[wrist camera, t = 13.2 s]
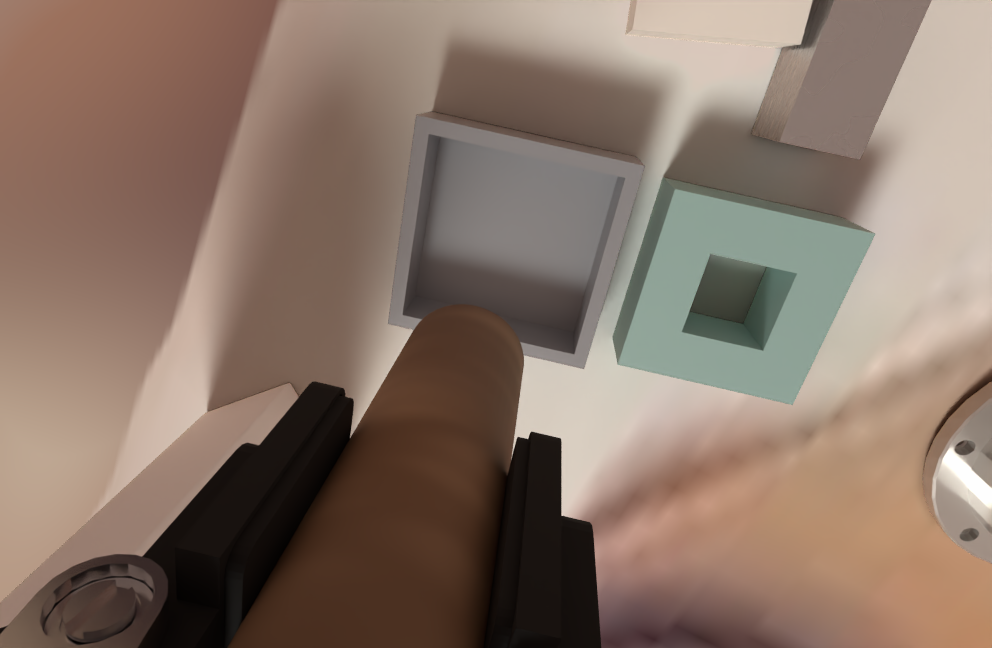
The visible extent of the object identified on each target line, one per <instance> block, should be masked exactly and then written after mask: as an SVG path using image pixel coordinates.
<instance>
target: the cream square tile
mask: <svg viewBox="0 0 992 648" xmlns="http://www.w3.org/2000/svg"><path fill="white" fill-rule="evenodd" d="M812 1H813V0H631V2H630V8H629V14H628V21H627V27H626V33H625V35H632V36H643V37H655V38H666V39H677V40H689V41H700V42H712V43H723V44H735V45H746V46H758V47H769V48H779V47H786V46H792V45H799V44H801V42H802V38H803V35H804V31H805V27H806V23H807V20H808V16H809V12H810V8H811V5H812Z"/></svg>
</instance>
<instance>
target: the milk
mask: <svg viewBox="0 0 992 648" xmlns="http://www.w3.org/2000/svg"><path fill="white" fill-rule="evenodd" d="M298 398H299V397H298V395H297V393H296V392H295V390H294V388H293V387H292V385H291V384H290V383H287V384H284V385H281V386H278V387H276V388H273V389H270V390H267V391H264V392H262V393H259V394H256V395H253V396H251V397H248V398H245V399H242V400H239V401H237V402H234V403H231V404H228V405H226V406H223V407H220V408H217V409H214V410H212V411H209V412H206V413H205V414H204V415H203V416H201V417H200V418H199V419H198V420H197V421H196V422H195V423H194V424H193V425H192V426H191V427H190V428H188V429H187V430H186V431H185V432H184V433H183V434H182V435H181V436H180V437H179V438H178V439H177V440H175V441H174V442H173V443H172V444H171V445H170V446H169V447H168V448H167V449H166V450H165V451H164V452H162V453H161V454H160V455H159V456H158V457H157V458H156V459H155V460H154V461H153V462H152V463H151V464H149V465H148V466H147V467H146V468H145V469H144V470H143V471H142V472H141V473H140V474H139V475H138V476H137V477H135V478H134V479H133V480H132V481H131V482H130V483H129V484H128V485H127V486H126V487H125V488H124V489H122V490H121V491H120V492H119V493H118V494H117V495H116V496H115V497H114V498H113V499H112V500H111V501H109V502H108V503H107V504H106V505H105V506H104V507H103V508H102V509H101V510H100V511H99V512H98V513H96V514H95V515H94V516H93V517H92V518H91V519H90V520H89V521H88V522H87V523H86V524H85V525H83V526H82V527H81V528H80V529H79V530H78V531H77V532H76V533H75V534H74V535H73V536H72V537H71V538H69V539H68V540H67V541H66V542H65V543H64V544H63V545H62V546H61V547H60V548H59V549H58V550H57V551H55V552H54V553H53V554H52V555H51V556H50V557H49V558H48V559H47V560H46V561H45V562H44V563H42V564H41V565H40V566H39V567H38V568H37V569H36V570H35V571H34V572H33V573H32V574H30V575H29V577H27V578H26V579H25V580H24V581H23V582H22V583H21V584H20V585H19V586H18V587H16V588H15V589H14V590H13V591H12V592H11V593H10V594H9V595H8V596H7V597H6V598H5V599H3V600H2V601H1V602H0V628H2V627H5V626H8V625H9V624H10V623H11V621H12V620H13V619H14V618H15V617H16V616H17V615H18V614H19V612H20V611H21V610H22V609H23V608H24V607H25V606H26V604H27V603H28V602H29V601H30V600H31V599H32V598H33V597H34V595H35V594H36V593H37V592H38V591H39V590H40V589H41V588H43V587H44V586H45V585H46V584H47V583H48V582H49V581H50V580H52V579H53V578H54V577H55V576H57V575H59V574H60V573H62V572H64V571H66V570H67V569H69V568H71V567H72V566H74V565H77V564H80V563H82V562H85V561H88V560H90V559H93V558H96V557H102V556H108V555H113V554H132V555H138V556H141V557H142V556H143V555H144V554H145V553H146V552H147V551H148V549H149V548H150V547H151V546H152V545H153V544H154V543H155V541H156V540H157V539H158V538H159V537H160V536H161V535H162V533H163V532H164V531H165V530H166V529H167V528H168V527H169V526H170V524H171V523H172V522H173V521H174V520H175V519H176V518H177V516H178V515H179V514H180V513H181V512H182V511H183V510H184V508H185V507H186V506H187V505H188V504H189V503H190V502H191V501H192V499H193V498H194V497H195V496H196V495H197V494H198V493H199V491H200V490H201V489H202V488H203V487H204V486H205V485H206V483H207V482H208V481H209V480H210V479H211V478H212V477H213V475H214V474H215V473H216V472H217V471H218V470H219V469H220V468H221V466H222V465H223V464H224V463H225V462H226V461H227V460H228V458H229V457H230V456H231V455H232V454H233V453H234V452H235V450H236V449H238V448H239V447H240V446H241V445H242V444H245V443H252V444H256V445H260V444H261V442H262V441H263V440H264V439H265V437H266V436H267V435H268V434H269V433H270V431H271V430H272V429H273V428H274V427H275V425H276V424H277V423H278V422H279V421H280V419H281V418H282V417H283V416H284V415H285V413H286V412H287V411H288V410H289V408H290V407H291V406H292V405H293V404H294V402H295V401H296V400H297V399H298Z"/></svg>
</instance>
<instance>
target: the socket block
mask: <svg viewBox="0 0 992 648" xmlns="http://www.w3.org/2000/svg"><path fill="white" fill-rule="evenodd" d="M874 236H875V233H873V232H871V231H869V230H867V229H865V228H862V227H860V226H858V225H856V224H854V223H852V222H850V221H848V220H846V219H844V218H842V217H838V216H834V215H829V214H825V213H820V212H816V211H811V210H807V209H802V208H798V207H793V206H789V205H784V204H780V203H776V202H771V201H767V200H762V199H758V198H753V197H749V196H744V195H740V194H735V193H731V192H726V191H722V190H717V189H713V188H708V187H704V186H699V185H695V184H690V183H686V182H681V181H677V180H672V179H668V178H664V177H663V179H662V182H661V185H660V189H659V192H658V195H657V198H656V201H655V204H654V208H653V211H652V214H651V217H650V220H649V223H648V227H647V230H646V233H645V236H644V239H643V242H642V246H641V249H640V252H639V255H638V258H637V261H636V265H635V268H634V271H633V274H632V277H631V280H630V284H629V287H628V290H627V293H626V296H625V299H624V303H623V306H622V309H621V312H620V315H619V318H618V322H617V325H616V328H615V331H614V334H613V342H614V347H615V353H616V358H617V363H618V365H622V366H626V367H631V368H635V369H639V370H644V371H648V372H652V373H657V374H661V375H665V376H670V377H674V378H678V379H683V380H687V381H691V382H696V383H700V384H704V385H709V386H713V387H717V388H722V389H726V390H730V391H735V392H739V393H743V394H748V395H752V396H756V397H761V398H765V399H770V400H774V401H778V402H783V403H787V404H791V405H793V403H794V401H795V399H796V397H797V395H798V393H799V391H800V388H801V386H802V384H803V382H804V380H805V378H806V376H807V374H808V372H809V370H810V368H811V366H812V364H813V362H814V360H815V357H816V355H817V353H818V351H819V349H820V347H821V345H822V343H823V341H824V339H825V337H826V335H827V333H828V331H829V329H830V326H831V324H832V322H833V320H834V318H835V316H836V314H837V312H838V310H839V308H840V306H841V304H842V302H843V300H844V298H845V296H846V293H847V291H848V289H849V287H850V285H851V283H852V281H853V279H854V277H855V275H856V273H857V271H858V269H859V267H860V265H861V262H862V260H863V258H864V256H865V254H866V252H867V250H868V248H869V246H870V244H871V242H872V240H873V238H874ZM710 254H713V255H717V256H722V257H726V258H730V259H735V260H739V261H744V262H748V263H753V264H757V265H762V266H766V267H767V268H766V270H765V273H764V275H763V278H762V280H761V282H760V285H759V287H758V290H757V292H756V294H755V297H754V299H753V302H752V304H751V306H750V309H749V311H748V314H747V316H746V318H745V321H744V323H743V324H741V323H737V322H733V321H728V320H724V319H719V318H715V317H711V316H706V315H702V314H697V313H693V312H689V311H690V308H691V305H692V303H693V300H694V297H695V295H696V292H697V289H698V286H699V284H700V281H701V278H702V276H703V273H704V270H705V267H706V265H707V262H708V259H709V257H710Z"/></svg>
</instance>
